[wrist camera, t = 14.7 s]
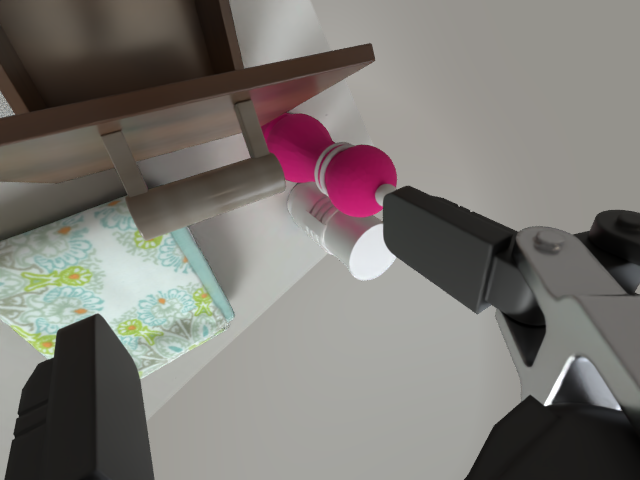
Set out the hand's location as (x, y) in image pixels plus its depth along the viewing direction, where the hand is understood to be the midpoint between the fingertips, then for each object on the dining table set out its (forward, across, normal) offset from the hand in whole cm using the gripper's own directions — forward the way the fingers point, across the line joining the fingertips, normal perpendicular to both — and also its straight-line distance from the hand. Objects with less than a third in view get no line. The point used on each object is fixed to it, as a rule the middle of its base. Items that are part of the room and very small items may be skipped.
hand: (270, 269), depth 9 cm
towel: (+30, +9, +18) cm, 36 cm away
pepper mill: (+30, -13, +7) cm, 33 cm away
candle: (+30, -15, +16) cm, 37 cm away
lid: (+13, 0, -1) cm, 14 cm away
